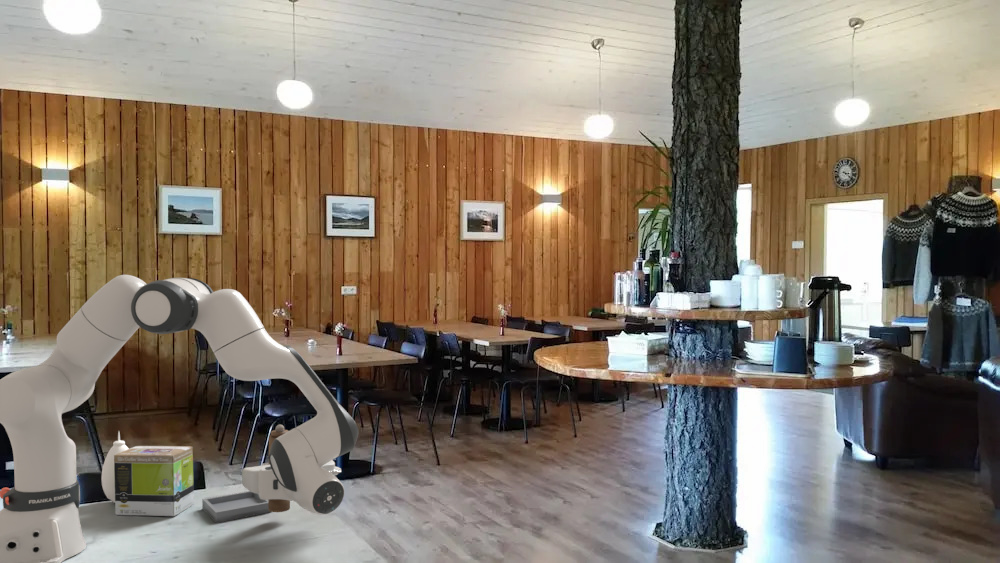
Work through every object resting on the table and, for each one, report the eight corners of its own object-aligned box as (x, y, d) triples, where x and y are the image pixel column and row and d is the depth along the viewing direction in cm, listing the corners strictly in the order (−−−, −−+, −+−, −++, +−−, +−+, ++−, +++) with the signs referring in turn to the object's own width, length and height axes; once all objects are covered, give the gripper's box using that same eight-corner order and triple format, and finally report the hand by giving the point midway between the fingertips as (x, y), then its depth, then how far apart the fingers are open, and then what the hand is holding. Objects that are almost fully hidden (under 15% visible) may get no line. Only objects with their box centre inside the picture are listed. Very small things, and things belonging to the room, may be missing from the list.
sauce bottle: (124, 495, 197) (123, 426, 197) (144, 500, 193) (143, 429, 193) (95, 504, 190) (94, 432, 190) (115, 509, 186) (113, 435, 186)
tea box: (195, 504, 191) (194, 445, 190) (174, 518, 181) (173, 455, 180) (137, 502, 192) (136, 443, 192) (113, 516, 182) (112, 454, 182)
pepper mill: (272, 513, 174) (273, 427, 174) (265, 507, 178) (266, 423, 178) (293, 509, 177) (293, 425, 177) (285, 504, 181) (286, 421, 181)
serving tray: (216, 522, 177) (216, 512, 177) (202, 508, 187) (202, 499, 187) (271, 512, 185) (271, 502, 185) (255, 499, 194) (255, 489, 194)
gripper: (344, 458, 173) (320, 445, 184) (254, 471, 161) (234, 457, 172) (344, 485, 173) (320, 471, 184) (253, 501, 161) (234, 485, 172)
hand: (278, 464), depth 178 cm, fingers closed on pepper mill, 5 cm apart
